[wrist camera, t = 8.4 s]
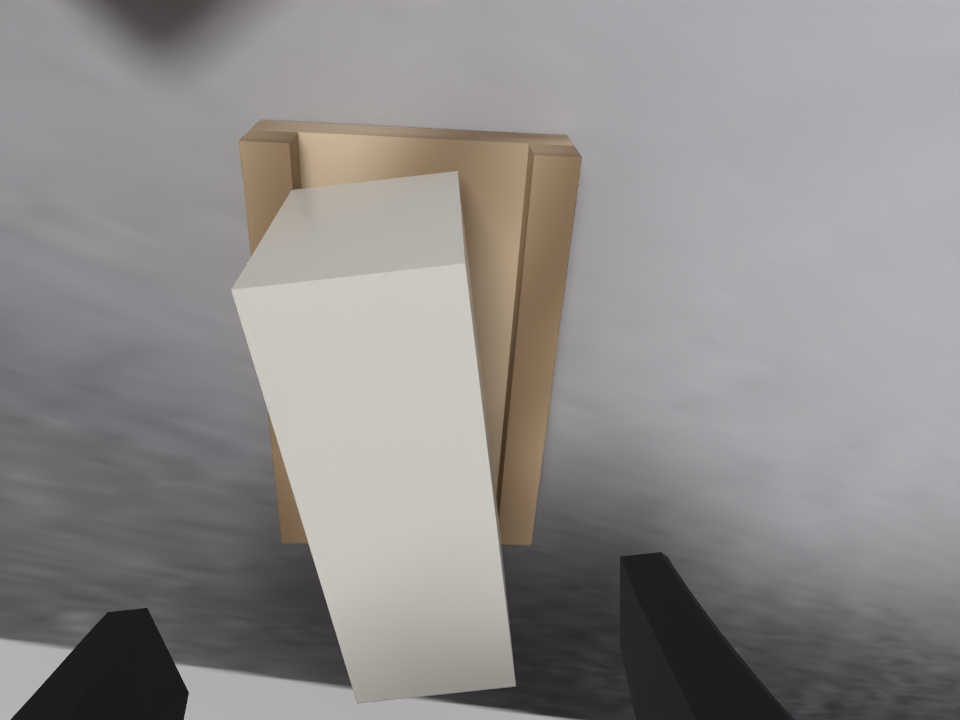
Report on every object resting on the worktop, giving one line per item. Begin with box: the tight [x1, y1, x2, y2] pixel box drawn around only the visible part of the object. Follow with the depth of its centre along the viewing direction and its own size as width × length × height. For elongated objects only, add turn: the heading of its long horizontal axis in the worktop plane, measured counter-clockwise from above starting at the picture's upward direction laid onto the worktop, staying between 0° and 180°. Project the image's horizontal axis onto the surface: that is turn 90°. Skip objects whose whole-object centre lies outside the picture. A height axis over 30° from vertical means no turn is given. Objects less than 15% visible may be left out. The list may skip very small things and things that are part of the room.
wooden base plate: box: [239, 120, 582, 545], centre depth 18 cm, size 7×11×2 cm, turn 176°
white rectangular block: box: [231, 171, 516, 703], centre depth 15 cm, size 10×4×5 cm, turn 6°
